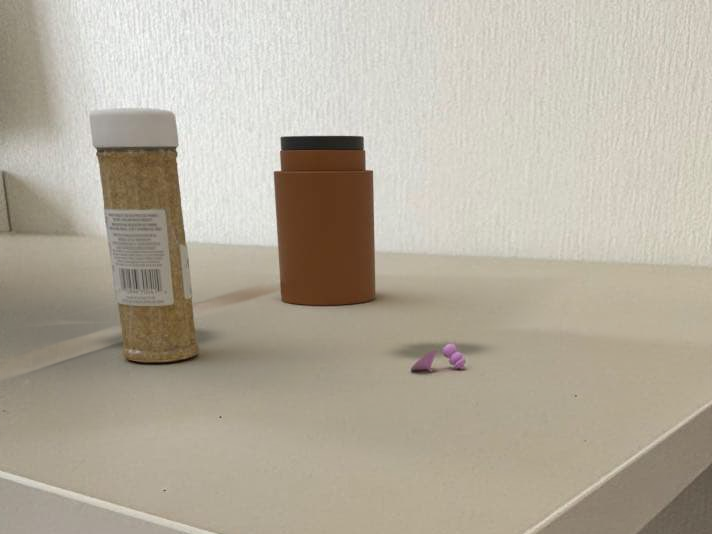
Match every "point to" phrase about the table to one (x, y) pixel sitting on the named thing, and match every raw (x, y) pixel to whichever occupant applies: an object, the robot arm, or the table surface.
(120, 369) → the table surface
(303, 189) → the amber bottle
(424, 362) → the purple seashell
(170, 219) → the sprinkles bottle
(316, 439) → the table surface
